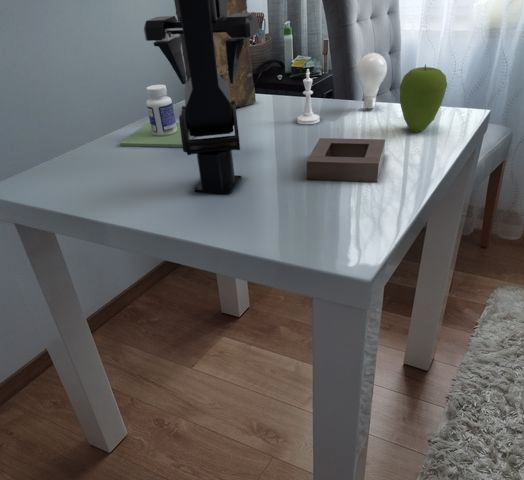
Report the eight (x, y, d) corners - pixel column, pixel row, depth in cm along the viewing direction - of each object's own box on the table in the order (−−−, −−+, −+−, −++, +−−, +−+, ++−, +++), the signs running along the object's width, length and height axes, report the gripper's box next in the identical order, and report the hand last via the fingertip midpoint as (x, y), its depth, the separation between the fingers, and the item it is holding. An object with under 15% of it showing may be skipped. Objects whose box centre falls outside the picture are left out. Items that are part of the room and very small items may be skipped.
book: (199, 119, 115) (180, -15, 99) (184, 113, 120) (163, -16, 104) (258, 103, 122) (249, -24, 106) (241, 98, 127) (231, -25, 111)
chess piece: (294, 124, 108) (293, 72, 101) (299, 117, 111) (298, 66, 105) (317, 124, 106) (317, 71, 100) (321, 117, 110) (322, 66, 104)
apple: (445, 135, 96) (456, 67, 89) (401, 138, 96) (408, 71, 89) (433, 121, 103) (442, 57, 95) (391, 124, 103) (397, 61, 96)
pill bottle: (179, 128, 109) (172, 82, 104) (174, 135, 105) (165, 89, 100) (155, 129, 110) (147, 84, 104) (149, 136, 106) (140, 90, 100)
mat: (182, 147, 101) (182, 144, 101) (120, 145, 105) (119, 142, 104) (206, 125, 111) (206, 122, 111) (149, 125, 115) (148, 122, 115)
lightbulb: (364, 104, 116) (367, 49, 109) (389, 107, 113) (393, 50, 106) (349, 111, 112) (351, 55, 105) (374, 114, 109) (378, 57, 102)
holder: (377, 182, 81) (378, 163, 80) (306, 179, 84) (306, 161, 82) (383, 156, 90) (385, 139, 88) (319, 154, 93) (319, 138, 91)
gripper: (264, -33, 84) (270, 72, 94) (161, -26, 88) (177, 73, 98) (244, -27, 76) (253, 87, 86) (133, -20, 80) (153, 88, 90)
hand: (208, 83), depth 90 cm, fingers open, 9 cm apart
